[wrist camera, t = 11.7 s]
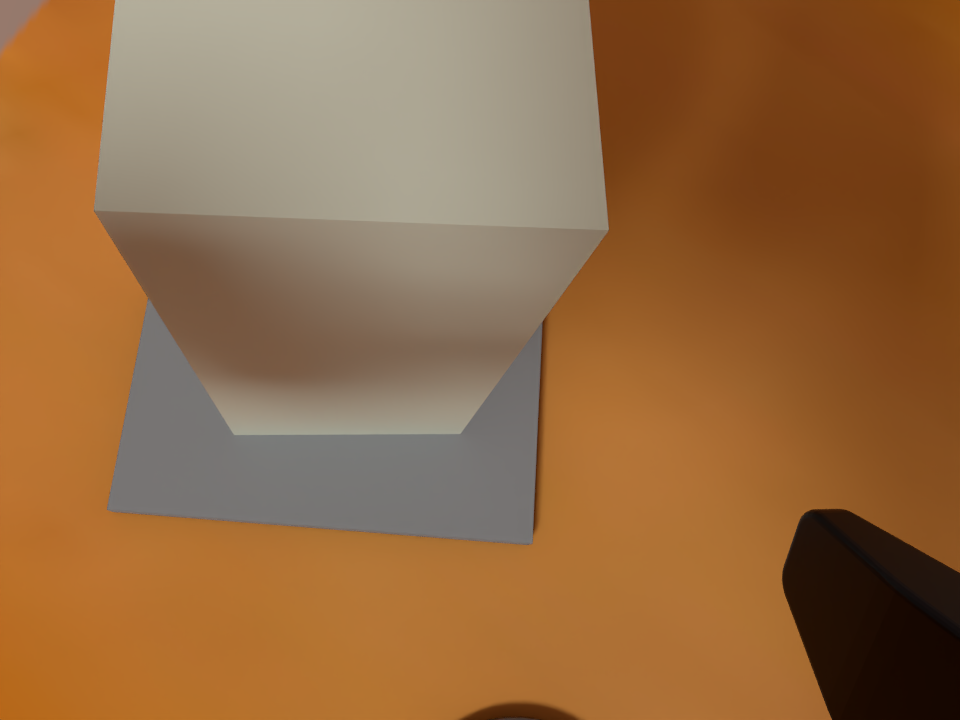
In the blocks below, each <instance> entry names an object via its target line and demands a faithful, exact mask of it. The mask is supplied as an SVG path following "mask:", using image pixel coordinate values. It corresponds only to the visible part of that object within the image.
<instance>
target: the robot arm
mask: <svg viewBox="0 0 960 720" xmlns="http://www.w3.org/2000/svg"><path fill="white" fill-rule="evenodd" d="M782 583H783V589H784V593H785V596H786V599H787V602H788V604H789V607H790V610H791V612H792V615H793V618H794V620H795V623H796V626H797V628H798V631H799V634H800V636H801V639H802V642H803V644H804V647H805V650H806V653H807V655H808V658H809V661H810V663H811V666H812V669H813V671H814V674H815V677H816V679H817V682H818V685H819V687H820V690H821V693H822V695H823V698H824V701H825V704H826V706H827V709H828V711H829V713H830V716H831V718H832V720H960V573H959V572H957V571H955V570H953V569H952V568H950V567H948V566H946V565H945V564H943V563H941V562H939V561H937V560H936V559H934V558H932V557H930V556H929V555H927V554H925V553H923V552H921V551H920V550H918V549H916V548H914V547H912V546H911V545H909V544H907V543H905V542H904V541H902V540H900V539H898V538H896V537H895V536H893V535H891V534H889V533H888V532H886V531H884V530H882V529H880V528H879V527H877V526H875V525H873V524H871V523H870V522H868V521H866V520H864V519H863V518H861V517H859V516H857V515H855V514H854V513H852V512H850V511H848V510H844V509H813V510H810V511H807V512H806V513H805V514H804V515H803V516H802V517H801V519H800V521H799V523H798V526H797V529H796V532H795V535H794V538H793V541H792V544H791V547H790V550H789V553H788V556H787V559H786V562H785V564H784V568H783V574H782Z"/></svg>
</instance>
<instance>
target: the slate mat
mask: <svg viewBox="0 0 960 720" xmlns="http://www.w3.org/2000/svg"><path fill="white" fill-rule="evenodd" d="M541 342H542V323H541V324H540V325H539V327H538V328H537V330H536V331H535V332H534V334H533V335H532V336H531V338H530V339H529V341H528V342H527V343H526V345H525V346H524V347H523V349H522V350H521V352H520V353H519V354H518V356H517V357H516V358H515V360H514V361H513V362H512V364H511V365H510V367H509V368H508V369H507V371H506V372H505V373H504V375H503V376H502V378H501V379H500V380H499V382H498V383H497V384H496V386H495V387H494V389H493V390H492V391H491V393H490V394H489V395H488V397H487V398H486V399H485V401H484V402H483V404H482V405H481V406H480V408H479V409H478V410H477V412H476V413H475V415H474V416H473V417H472V419H471V420H470V421H469V423H468V424H467V426H466V427H465V428H464V430H463V431H462V432H461V434H366V435H234V434H233V433H232V431H231V429H230V428H229V426H228V425H227V423H226V421H225V420H224V418H223V417H222V415H221V413H220V412H219V410H218V409H217V407H216V405H215V404H214V402H213V401H212V399H211V397H210V396H209V394H208V393H207V391H206V389H205V388H204V386H203V385H202V383H201V381H200V380H199V378H198V377H197V375H196V373H195V372H194V370H193V369H192V367H191V365H190V364H189V362H188V361H187V359H186V357H185V356H184V354H183V353H182V351H181V349H180V348H179V346H178V345H177V343H176V341H175V340H174V338H173V337H172V335H171V333H170V332H169V330H168V329H167V327H166V325H165V324H164V322H163V321H162V319H161V317H160V316H159V314H158V313H157V311H156V309H155V308H154V306H153V305H152V303H151V301H150V300H149V298H148V302H147V307H146V312H145V317H144V322H143V328H142V333H141V338H140V343H139V348H138V353H137V358H136V363H135V368H134V374H133V379H132V384H131V389H130V394H129V399H128V404H127V409H126V415H125V420H124V425H123V430H122V435H121V440H120V445H119V450H118V455H117V461H116V466H115V471H114V476H113V481H112V486H111V491H110V496H109V501H108V507H107V510H109V511H112V512H121V513H134V514H146V515H159V516H171V517H184V518H197V519H209V520H222V521H234V522H247V523H259V524H272V525H284V526H297V527H309V528H322V529H335V530H347V531H360V532H372V533H385V534H397V535H410V536H422V537H435V538H447V539H460V540H473V541H485V542H498V543H510V544H523V545H529V544H532V542H533V520H534V497H535V475H536V453H537V431H538V409H539V387H540V365H541Z"/></svg>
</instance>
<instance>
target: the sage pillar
mask: <svg viewBox="0 0 960 720" xmlns="http://www.w3.org/2000/svg"><path fill="white" fill-rule="evenodd" d="M94 212H95V213H96V215H97V216H98V218H99V220H100V221H101V223H102V224H103V226H104V228H105V229H106V231H107V232H108V234H109V236H110V237H111V239H112V240H113V242H114V244H115V245H116V247H117V248H118V250H119V252H120V253H121V255H122V256H123V258H124V260H125V261H126V263H127V264H128V266H129V268H130V269H131V271H132V272H133V274H134V276H135V277H136V279H137V281H138V282H139V284H140V285H141V287H142V289H143V290H144V292H145V293H146V295H147V297H148V298H149V300H150V301H151V303H152V305H153V306H154V308H155V309H156V311H157V313H158V314H159V316H160V317H161V319H162V321H163V322H164V324H165V325H166V327H167V329H168V330H169V332H170V333H171V335H172V337H173V338H174V340H175V341H176V343H177V345H178V346H179V348H180V349H181V351H182V353H183V354H184V356H185V357H186V359H187V361H188V362H189V364H190V365H191V367H192V369H193V370H194V372H195V373H196V375H197V377H198V378H199V380H200V381H201V383H202V385H203V386H204V388H205V389H206V391H207V393H208V394H209V396H210V397H211V399H212V401H213V402H214V404H215V405H216V407H217V409H218V410H219V412H220V413H221V415H222V417H223V418H224V420H225V421H226V423H227V425H228V426H229V428H230V429H231V431H232V433H233V434H234V435H366V434H461V432H462V431H463V430H464V428H465V427H466V426H467V424H468V423H469V421H470V420H471V419H472V417H473V416H474V415H475V413H476V412H477V410H478V409H479V408H480V406H481V405H482V404H483V402H484V401H485V399H486V398H487V397H488V395H489V394H490V393H491V391H492V390H493V389H494V387H495V386H496V384H497V383H498V382H499V380H500V379H501V378H502V376H503V375H504V373H505V372H506V371H507V369H508V368H509V367H510V365H511V364H512V362H513V361H514V360H515V358H516V357H517V356H518V354H519V353H520V352H521V350H522V349H523V347H524V346H525V345H526V343H527V342H528V341H529V339H530V338H531V336H532V335H533V334H534V332H535V331H536V330H537V328H538V327H539V325H540V324H541V323H542V321H543V320H544V319H545V317H546V316H547V314H548V313H549V312H550V310H551V309H552V308H553V306H554V305H555V304H556V302H557V301H558V299H559V298H560V297H561V295H562V294H563V293H564V291H565V290H566V288H567V287H568V286H569V284H570V283H571V282H572V280H573V279H574V277H575V276H576V275H577V273H578V272H579V271H580V269H581V268H582V266H583V265H584V264H585V262H586V261H587V260H588V258H589V257H590V256H591V254H592V253H593V251H594V250H595V249H596V247H597V246H598V245H599V243H600V242H601V240H602V239H603V238H604V236H605V235H606V234H607V232H608V231H609V226H608V215H607V203H606V192H605V180H604V169H603V157H602V146H601V134H600V123H599V111H598V100H597V89H596V77H595V66H594V54H593V43H592V31H591V20H590V8H589V0H115V9H114V18H113V28H112V38H111V48H110V58H109V67H108V77H107V87H106V97H105V107H104V116H103V126H102V136H101V146H100V156H99V165H98V175H97V185H96V195H95V205H94Z"/></svg>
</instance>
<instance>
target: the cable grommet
mask: <svg viewBox="0 0 960 720" xmlns="http://www.w3.org/2000/svg"><path fill="white" fill-rule="evenodd" d="M489 720H539V719H535V718H527V717H500V718H495V719H489Z"/></svg>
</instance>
